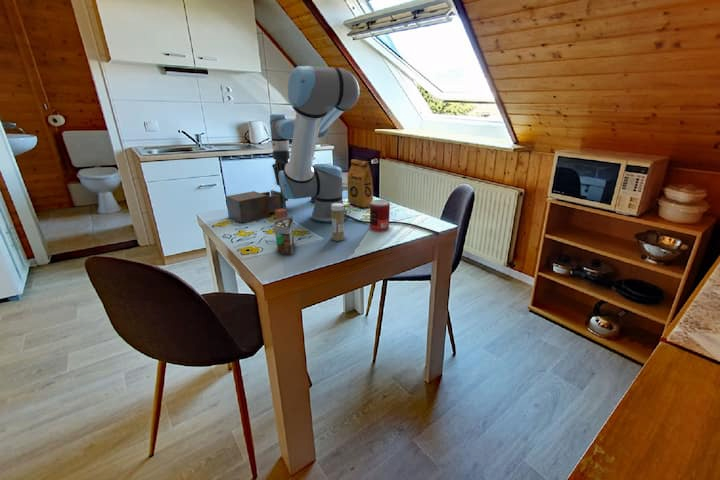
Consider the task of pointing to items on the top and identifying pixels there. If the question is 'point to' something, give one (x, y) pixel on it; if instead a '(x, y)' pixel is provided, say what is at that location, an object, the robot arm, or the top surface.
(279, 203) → the drawer
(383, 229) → the canned food
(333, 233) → the sprinkles bottle
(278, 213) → the block
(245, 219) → the cabinet
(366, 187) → the coffee package
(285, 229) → the food container
